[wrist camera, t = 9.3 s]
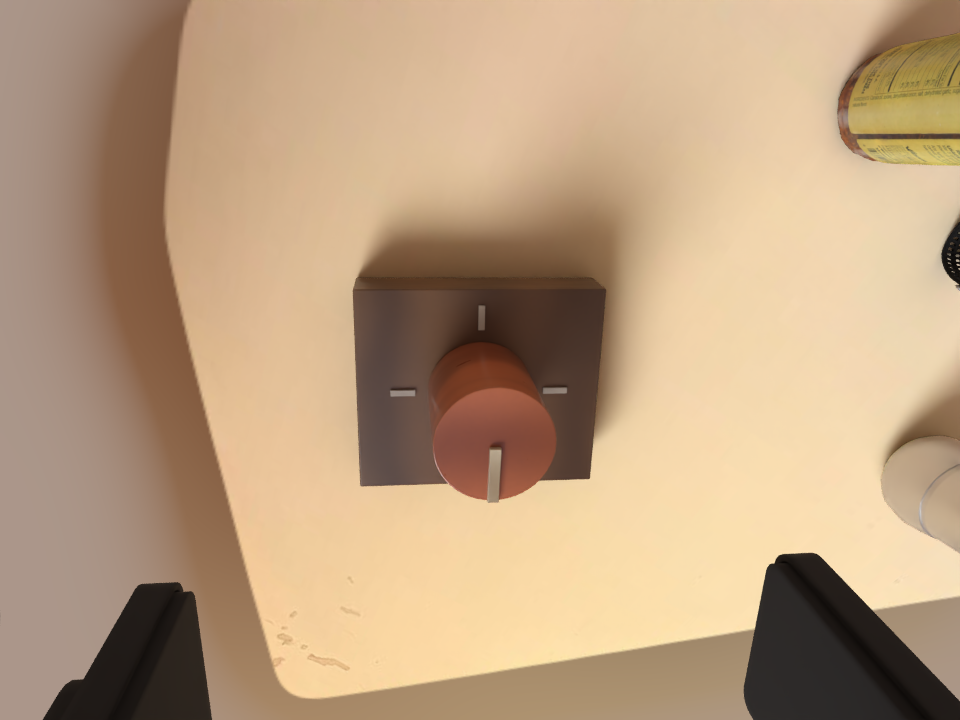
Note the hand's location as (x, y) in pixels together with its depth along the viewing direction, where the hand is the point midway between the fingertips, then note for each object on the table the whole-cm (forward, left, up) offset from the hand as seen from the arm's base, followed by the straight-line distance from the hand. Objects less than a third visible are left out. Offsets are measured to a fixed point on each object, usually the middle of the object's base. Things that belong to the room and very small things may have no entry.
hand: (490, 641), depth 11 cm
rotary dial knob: (+4, -6, -27) cm, 28 cm away
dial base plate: (+4, -6, -30) cm, 31 cm away
